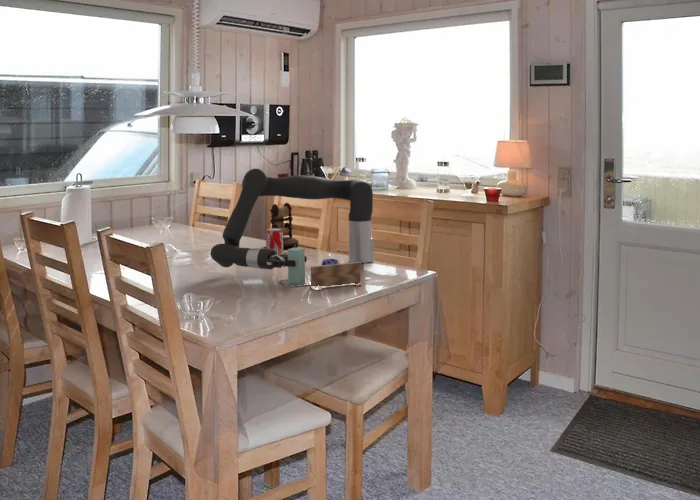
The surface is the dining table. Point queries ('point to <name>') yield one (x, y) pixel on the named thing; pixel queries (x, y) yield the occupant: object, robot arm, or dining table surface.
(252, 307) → the dining table surface
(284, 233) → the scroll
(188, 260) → the dining table surface
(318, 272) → the walnut screen
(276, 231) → the soda can
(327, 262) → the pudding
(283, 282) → the slate coaster
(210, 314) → the dining table surface
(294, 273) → the teal rectangular block
